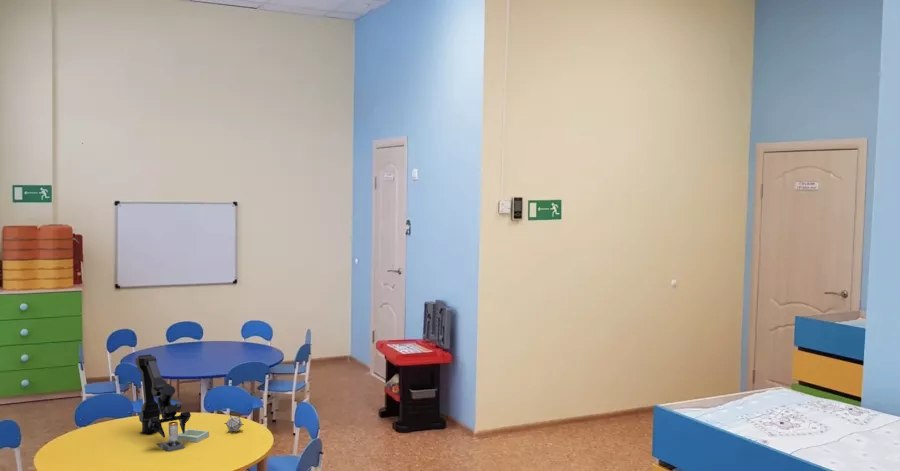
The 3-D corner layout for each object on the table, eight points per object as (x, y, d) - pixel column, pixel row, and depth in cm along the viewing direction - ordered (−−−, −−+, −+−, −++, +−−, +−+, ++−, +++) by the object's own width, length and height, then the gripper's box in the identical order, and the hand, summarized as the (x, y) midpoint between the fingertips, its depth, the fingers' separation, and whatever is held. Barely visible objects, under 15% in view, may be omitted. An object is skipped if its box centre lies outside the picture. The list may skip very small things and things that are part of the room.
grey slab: (155, 445, 364) (155, 439, 364) (174, 442, 370) (174, 436, 370) (166, 454, 353) (166, 447, 353) (185, 450, 359) (185, 443, 359)
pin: (167, 448, 357) (166, 423, 357) (172, 446, 361) (172, 421, 361) (174, 449, 356) (174, 424, 356) (179, 447, 360) (179, 422, 359)
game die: (237, 437, 389) (249, 421, 391) (231, 437, 381) (243, 420, 383) (224, 427, 391) (236, 411, 393) (218, 426, 383) (230, 409, 385)
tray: (175, 442, 370) (175, 435, 370) (188, 435, 380) (188, 429, 379) (197, 444, 367) (197, 437, 367) (209, 438, 376) (209, 431, 376)
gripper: (149, 401, 355) (158, 430, 347) (189, 394, 367) (198, 422, 359) (144, 413, 361) (152, 442, 353) (183, 407, 373) (192, 434, 365)
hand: (174, 435), depth 357 cm, fingers open, 9 cm apart
